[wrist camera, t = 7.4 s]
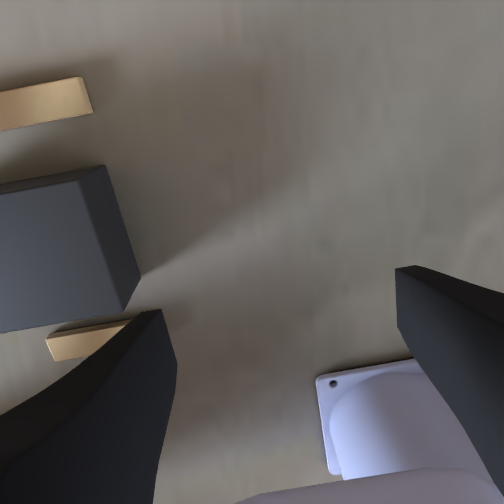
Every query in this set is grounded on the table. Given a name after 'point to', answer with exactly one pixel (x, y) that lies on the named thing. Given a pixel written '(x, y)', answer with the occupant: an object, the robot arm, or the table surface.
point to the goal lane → (40, 111)
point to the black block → (62, 250)
